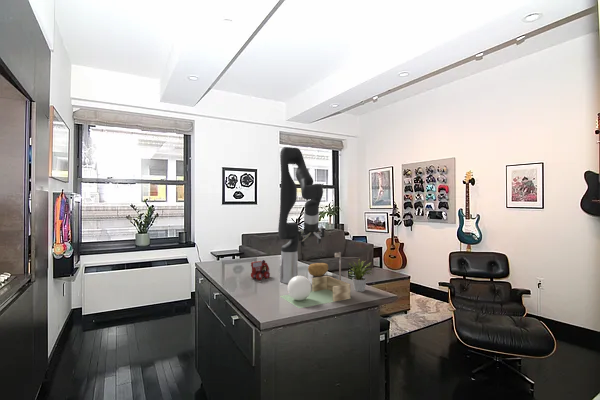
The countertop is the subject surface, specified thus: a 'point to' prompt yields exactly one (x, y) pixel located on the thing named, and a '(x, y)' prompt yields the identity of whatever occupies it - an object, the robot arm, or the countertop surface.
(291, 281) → the ball
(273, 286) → the countertop surface
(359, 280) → the house plant
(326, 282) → the wooden u-shaped frame
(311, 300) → the green mat
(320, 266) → the potato
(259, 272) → the toy fire truck
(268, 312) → the countertop surface
